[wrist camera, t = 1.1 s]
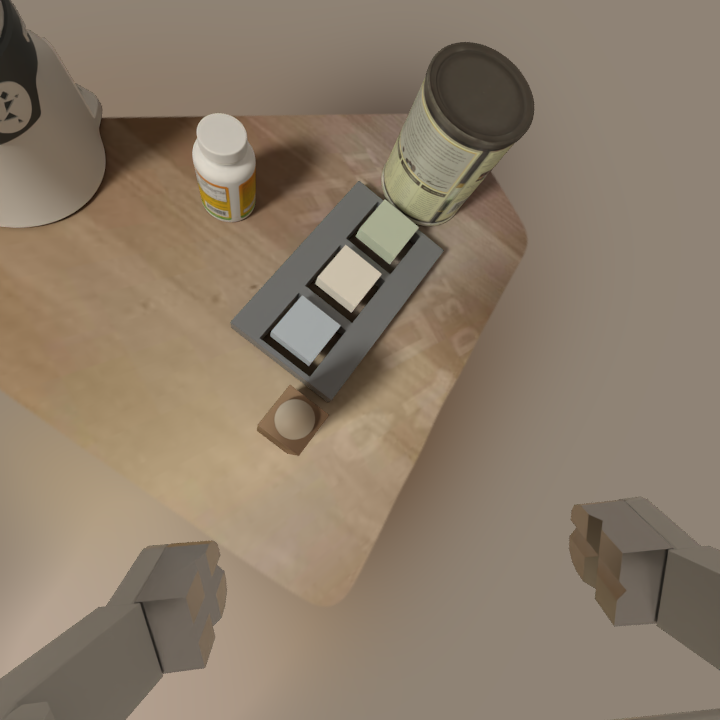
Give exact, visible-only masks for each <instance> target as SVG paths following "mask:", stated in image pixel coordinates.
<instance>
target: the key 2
mask: <svg viewBox="0 0 720 720" xmlns="http://www.w3.org/2000/svg"><path fill="white" fill-rule="evenodd" d="M418 228H419V227H418V226H417V225H416V224H414V223H413V222H412V221H411V220H410V219H408V218H407V217H406V216H405V215H403V214H402V213H401V212H400V211H399V210H397V209H396V208H395V207H394V206H393V205H391V204H390V203H389V202H388V201H387V200H385V199H384V201H383V202H382V203H381V204H380V205H379V206H378V208H377V209H376V210H375V211H374V212H373V213H372V215H371V216H370V217H369V218H368V219H367V220H366V222H365V223H364V224H363V225H362V226H361V227H360V229H359V231H358V233H357V235H356V237H357V238H358V239H359V240H360V241H362V242H363V243H364V244H365V245H367V246H368V247H369V248H370V249H371V250H373V251H374V252H375V253H376V254H378V255H379V256H380V257H381V258H383V259H384V260H385V261H386V262H387V263H389V264H391V262H392V261H393V260H394V259H395V257H396V256H397V255H398V254H399V252H400V251H401V250H402V249H403V247H404V246H405V245H406V244H407V242H408V241H409V240H410V239H411V237H412V236H413V235H414V233H415V232H416V231H417V229H418Z"/></svg>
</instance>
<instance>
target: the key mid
mask: <svg viewBox="0 0 720 720" xmlns="http://www.w3.org/2000/svg"><path fill="white" fill-rule="evenodd" d="M381 275H382V274H381V273H380V272H379V271H378V270H376V269H375V268H374V267H373V266H371V265H370V264H369V263H368V262H366V261H365V260H364V259H363V258H362V257H360V256H359V255H358V254H357V253H355V252H354V251H353V250H352V249H350V248H349V247H348V246H347V245H345V246H344V247H343V248H342V249H341V251H340V252H339V253H338V254H337V255H336V256H335V258H334V259H333V260H332V261H331V262H330V263H329V265H328V266H327V267H326V268H325V269H324V270H323V272H322V273H321V274H320V275H319V276H318V278H317V280H316V283H315V284H316V285H317V286H318V287H320V288H321V289H322V290H324V291H325V292H326V293H327V294H329V295H330V296H331V297H332V298H334V299H335V300H336V301H337V302H339V303H340V304H341V305H342V306H344V307H345V308H346V309H347V310H349V311H350V312H351V313H352V311H353V310H354V309H355V308H356V306H357V305H358V304H359V303H360V301H361V300H362V299H363V298H364V296H365V295H366V294H367V293H368V291H369V290H370V289H371V288H372V286H373V285H374V284H375V283H376V281H377V280H378V279H379V277H380V276H381Z"/></svg>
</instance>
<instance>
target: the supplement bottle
mask: <svg viewBox="0 0 720 720" xmlns="http://www.w3.org/2000/svg"><path fill="white" fill-rule="evenodd" d="M192 156H193V163H194V167H195V171H196V175H197V180H198V185H199V189H200V194H201V198H202V202H203V205H204V207H205V209H206V210H207V211H208V212H209V213H210V214H211V215H212V216H213V217H215V218H217V219H219V220H221V221H225V222H237V221H240V220H243V219H245V218H246V217H248V216H249V215H250V214H251V212H252V211H253V209H254V206H255V201H256V161H255V154H254V151H253V149H252V147H251V145H250V144H249V142H248V141H247V133H246V130H245V128H244V126H243V125H242V124H241V122H240V121H238V120H237V119H236V118H234V117H232V116H230V115H227V114H223V113H214V114H210V115H208V116H206V117H204V118H203V119H202V120H201V121H200V122H199V124H198V126H197V140H196V141H195V143H194V146H193V150H192Z"/></svg>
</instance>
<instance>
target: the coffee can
mask: <svg viewBox="0 0 720 720" xmlns="http://www.w3.org/2000/svg"><path fill="white" fill-rule="evenodd" d="M533 115H534V100H533V95H532V92H531V90H530V87H529V85H528V83H527V81H526V80H525V78H524V76H523V75H522V73H521V72H520V71H519V69H518V68H517V67H516V66H515V65H514V64H513V63H512V62H511V61H510V60H509V59H507V58H506V57H505V56H503V55H502V54H501V53H499V52H497V51H496V50H494V49H492V48H489V47H487V46H484V45H481V44H477V43H470V42H460V43H455V44H451V45H448V46H446V47H444V48H443V49H441V50H440V51H439V52H438V53H437V54H436V55H435V56H434V57H433V59H432V61H431V63H430V65H429V67H428V70H427V73H426V77H425V79H424V81H423V84H422V86H421V88H420V90H419V92H418V95H417V97H416V99H415V101H414V103H413V106H412V108H411V110H410V112H409V115H408V117H407V119H406V121H405V123H404V126H403V128H402V130H401V132H400V134H399V137H398V139H397V141H396V143H395V145H394V148H393V150H392V152H391V154H390V157H389V159H388V161H387V162H386V164H385V166H384V168H383V171H382V178H381V182H382V189H383V192H384V195H385V198H386V200H387V201H388V202H389V203H390V204H391V205H393V206H394V207H395V208H396V209H397V210H399V211H400V212H401V213H402V214H403V215H405V216H406V217H407V218H408V219H410V220H411V221H412V222H413V223H415V224H418V225H422V226H436V225H441V224H443V223H445V222H447V221H448V220H450V219H451V218H452V217H453V216H454V215H455V214H456V212H457V211H458V209H459V208H460V207H461V206H462V204H463V203H464V202H465V201H466V200H467V199H468V198H469V196H470V195H471V194H472V193H473V192H474V190H475V189H476V188H477V187H478V186H479V184H480V183H481V182H482V181H483V180H484V179H485V177H486V176H487V175H488V174H489V173H490V171H491V170H492V169H493V168H494V167H495V166H496V165H497V163H498V162H499V161H500V160H501V158H502V157H503V156H504V155H505V154H506V153H507V151H508V150H509V149H510V148H511V147H512V145H513V144H514V143H515V142H517V141H518V140H519V139H520V138H521V137H522V136H523V135H524V134H525V133H526V132H527V130H528V129H529V127H530V125H531V123H532V120H533Z"/></svg>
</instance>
